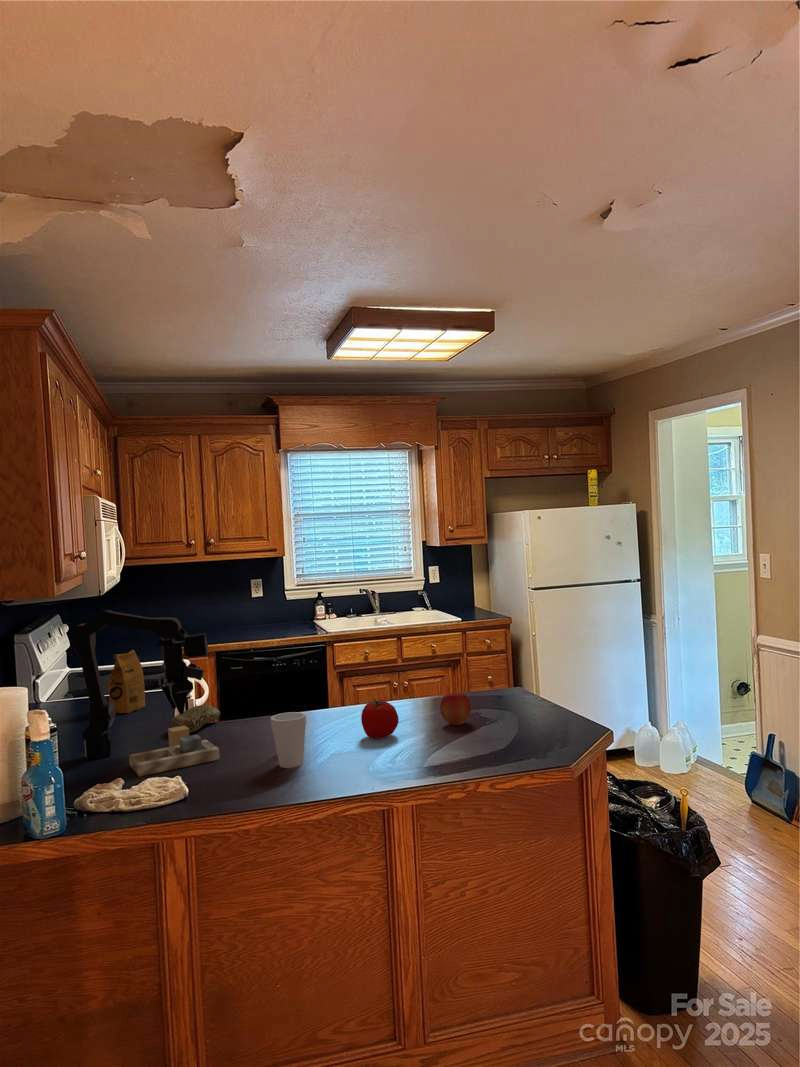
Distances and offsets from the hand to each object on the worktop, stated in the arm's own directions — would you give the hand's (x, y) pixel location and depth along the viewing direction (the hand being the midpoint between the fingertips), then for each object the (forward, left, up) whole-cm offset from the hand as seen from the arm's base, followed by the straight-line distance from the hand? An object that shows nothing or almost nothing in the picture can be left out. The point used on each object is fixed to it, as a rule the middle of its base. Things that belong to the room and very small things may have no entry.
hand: (177, 711), depth 228 cm
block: (0, 0, -11) cm, 11 cm away
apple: (+76, -37, -11) cm, 85 cm away
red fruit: (+51, -33, -11) cm, 62 cm away
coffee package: (-2, +68, -11) cm, 69 cm away
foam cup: (+20, -39, -11) cm, 45 cm away
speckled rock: (+10, +21, -12) cm, 26 cm away
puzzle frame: (-5, -14, -11) cm, 18 cm away
